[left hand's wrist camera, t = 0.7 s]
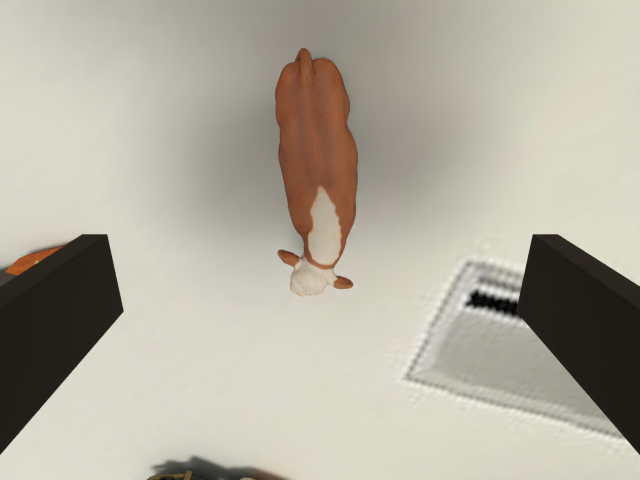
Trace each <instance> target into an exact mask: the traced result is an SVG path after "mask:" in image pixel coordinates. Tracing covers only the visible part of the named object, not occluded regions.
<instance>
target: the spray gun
mask: <svg viewBox="0 0 640 480" xmlns="http://www.w3.org/2000/svg"><path fill="white" fill-rule="evenodd" d="M181 478H184V479H181ZM179 479H181V480H206V479H204V478H201V477H199V476H197V475H194V474H192V471H189V470H187V471H186V473H184V474H170V475H155V476H151V477H150V478H148V479H147V480H179ZM240 480H255V479H252V478H241V479H240Z"/></svg>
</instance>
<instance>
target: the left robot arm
mask: <svg viewBox="0 0 640 480" xmlns="http://www.w3.org/2000/svg"><path fill="white" fill-rule="evenodd" d="M123 312H124V310H123V306H122V301H121V296H120V292H119V287H118V282H117V278H116V273H115V268H114V264H113V259H112V255H111V250H110V245H109V241H108V236H107V234H82V235H80V236H79V237H77V238H76V239H74V240H73V241H71V242H69V243H68V244H66V245H65V246H63V247H62V248H60V249H58V250H57V251H55V252H54V253H52V254H51V255H49V256H47V257H46V258H44V259H43V260H41V261H40V262H38V263H36V264H35V265H33V266H32V267H30V268H29V269H27V270H25V271H24V272H22V273H21V274H19V275H17V276H16V277H14V278H13V279H11V280H10V281H8V282H6V283H5V284H3V285H2V286H0V455H1V453H2V452H3V451H4V450H5V449H6V448H7V446H8V445H9V444H10V443H11V442H12V441H13V439H14V438H15V437H16V436H17V435H18V434H19V432H20V431H21V430H22V429H23V428H24V427H25V425H26V424H27V423H28V422H29V421H30V420H31V419H32V417H33V416H34V415H35V414H36V413H37V412H38V410H39V409H40V408H41V407H42V406H43V405H44V403H45V402H46V401H47V400H48V399H49V398H50V396H51V395H52V394H53V393H54V392H55V391H56V389H57V388H58V387H59V386H60V385H61V384H62V383H63V381H64V380H65V379H66V378H67V377H68V376H69V374H70V373H71V372H72V371H73V370H74V369H75V367H76V366H77V365H78V364H79V363H80V362H81V360H82V359H83V358H84V357H85V356H86V355H87V353H88V352H89V351H90V350H91V349H92V348H93V347H94V345H95V344H96V343H97V342H98V341H99V340H100V338H101V337H102V336H103V335H104V334H105V333H106V331H107V330H108V329H109V328H110V327H111V326H112V324H113V323H114V322H115V321H116V320H117V319H118V317H119V316H120V315H121V314H122V313H123ZM516 312H517V313H518V314H519V315H520V316H521V317H522V319H523V320H524V321H525V322H526V323H527V324H528V326H529V327H530V328H531V329H532V330H533V331H534V333H535V334H536V335H537V336H538V337H539V338H540V340H541V341H542V342H543V343H544V344H545V345H546V347H547V348H548V349H549V350H550V351H551V352H552V353H553V355H554V356H555V357H556V358H557V359H558V360H559V362H560V363H561V364H562V365H563V366H564V367H565V369H566V370H567V371H568V372H569V373H570V374H571V376H572V377H573V378H574V379H575V380H576V381H577V383H578V384H579V385H580V386H581V387H582V388H583V389H584V391H585V392H586V393H587V394H588V395H589V396H590V398H591V399H592V400H593V401H594V402H595V403H596V405H597V406H598V407H599V408H600V409H601V410H602V412H603V413H604V414H605V415H606V416H607V417H608V419H609V420H610V421H611V422H612V423H613V424H614V425H615V427H616V428H617V429H618V430H619V431H620V432H621V434H622V435H623V436H624V437H625V438H626V439H627V441H628V442H629V443H630V444H631V445H632V446H633V448H634V449H635V450H636V451H637V452H638V453H639V455H640V286H638V285H637V284H635V283H634V282H632V281H630V280H629V279H627V278H626V277H624V276H623V275H621V274H619V273H618V272H616V271H615V270H613V269H611V268H610V267H608V266H607V265H605V264H604V263H602V262H600V261H599V260H597V259H596V258H594V257H593V256H591V255H589V254H588V253H586V252H585V251H583V250H582V249H580V248H578V247H577V246H575V245H574V244H572V243H571V242H569V241H567V240H566V239H564V238H563V237H561V236H559V235H558V234H533V236H532V241H531V245H530V250H529V255H528V259H527V264H526V268H525V273H524V278H523V282H522V287H521V292H520V296H519V301H518V306H517V310H516Z"/></svg>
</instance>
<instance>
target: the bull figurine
mask: <svg viewBox="0 0 640 480" xmlns="http://www.w3.org/2000/svg"><path fill="white" fill-rule="evenodd" d="M275 99H276V119H277V123H278V125H279V127H280V144H279V151H278V156H279V163H280V167H281V170H282V174H283V180H284V185H285V191H286V196H287V201H288V208H289V212H290V216H291V219H292V222H293V225H294V227H295V229H296V231H297V232H298V233H299V234H300V235H301V236H302V238H303V241H304V253H303V255H302V256H301V257H299V256H297V255H295V254H294V253H291V252H288V251H285V250H279V251H278V256H279V257H280V258H281V260H282V261H283V262H284V263H286V264H289V265H291V266H293V267H294V271H293V272H292V274H291V282H290V290H291V291H292V292H294V293H296V294H298V295H300V296H306V295H308V296H314V295H317V294H320V293H322V292H323V291H324V289H325V287H326V285H328V284H329V285H332V286H333V287H335V288H338V289H348V288H351V287H352V286H353V283H352V282H351V281H350V280H349V279H347V278H345V277H341V276H337V275H335V274H334V271H333V268H334V266H335V265H336V263H337V262H338V260H339V258H340V257H341V255H342V253H343V250H344V248H345V244H346V239H347V236H348V234H349V232H350V230H351V228H352V225H353V223H354V220H355V215H356V199H355V198H356V191H357V164H358V154H357V148H356V144H355V141H354V138H353V136H352V134H351V132H350V130H349V129H348V126H347V118H348V115H349V112H350V102H349V98H348V95H347V92H346V89H345V87H344V82H343V79H342V76H341V74H340V72H339V70H338V68H337V67H336V65H335V64H334V63H333V62H332V61H331V60H329V59H327V58H317V59H314V60H312V59H311V55H310V53H309V51H308V50H307V49H305V48H302V49H301V50H300V51H299V53H298V55H297V57H296V60H295V62H292V63H289V64H287V65H286V66H285V67H284V68H283V70H282V72H281V75H280V78H279V81H278V83H277V86H276V91H275Z"/></svg>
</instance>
